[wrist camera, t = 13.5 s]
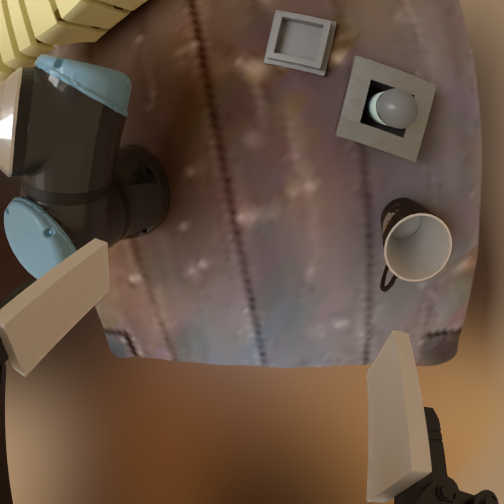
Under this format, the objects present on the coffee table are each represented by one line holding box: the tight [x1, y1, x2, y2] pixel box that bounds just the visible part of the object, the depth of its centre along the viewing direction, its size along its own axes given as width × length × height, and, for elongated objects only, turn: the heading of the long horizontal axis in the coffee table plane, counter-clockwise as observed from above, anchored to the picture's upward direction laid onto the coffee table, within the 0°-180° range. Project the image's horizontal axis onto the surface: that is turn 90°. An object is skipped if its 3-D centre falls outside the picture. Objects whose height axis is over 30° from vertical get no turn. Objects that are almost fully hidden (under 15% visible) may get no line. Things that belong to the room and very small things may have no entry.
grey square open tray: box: [263, 10, 337, 77], centre depth 33 cm, size 8×8×3 cm
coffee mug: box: [380, 198, 452, 292], centre depth 38 cm, size 12×9×10 cm
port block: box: [334, 55, 436, 163], centre depth 33 cm, size 10×10×6 cm
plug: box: [364, 88, 418, 129], centre depth 31 cm, size 4×4×12 cm
